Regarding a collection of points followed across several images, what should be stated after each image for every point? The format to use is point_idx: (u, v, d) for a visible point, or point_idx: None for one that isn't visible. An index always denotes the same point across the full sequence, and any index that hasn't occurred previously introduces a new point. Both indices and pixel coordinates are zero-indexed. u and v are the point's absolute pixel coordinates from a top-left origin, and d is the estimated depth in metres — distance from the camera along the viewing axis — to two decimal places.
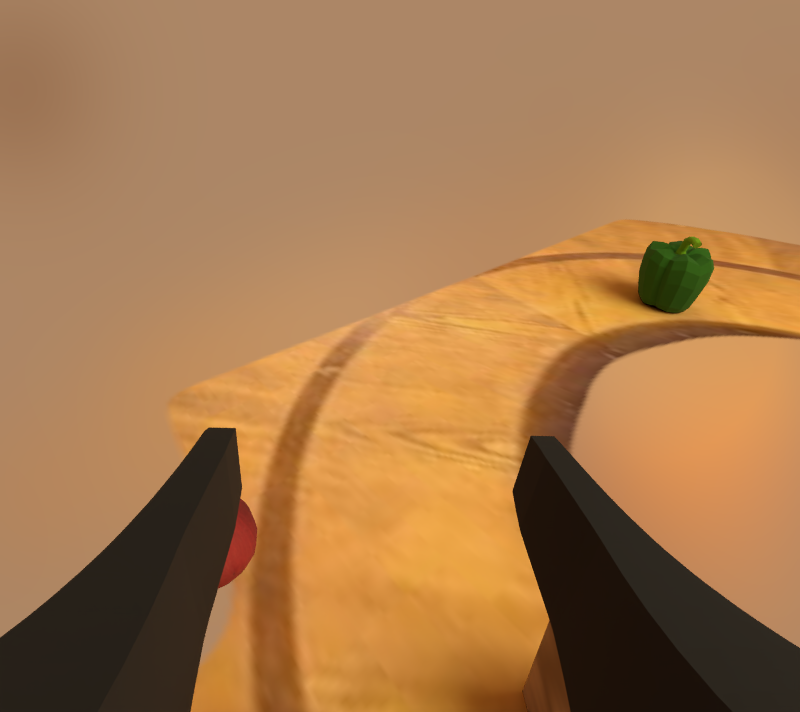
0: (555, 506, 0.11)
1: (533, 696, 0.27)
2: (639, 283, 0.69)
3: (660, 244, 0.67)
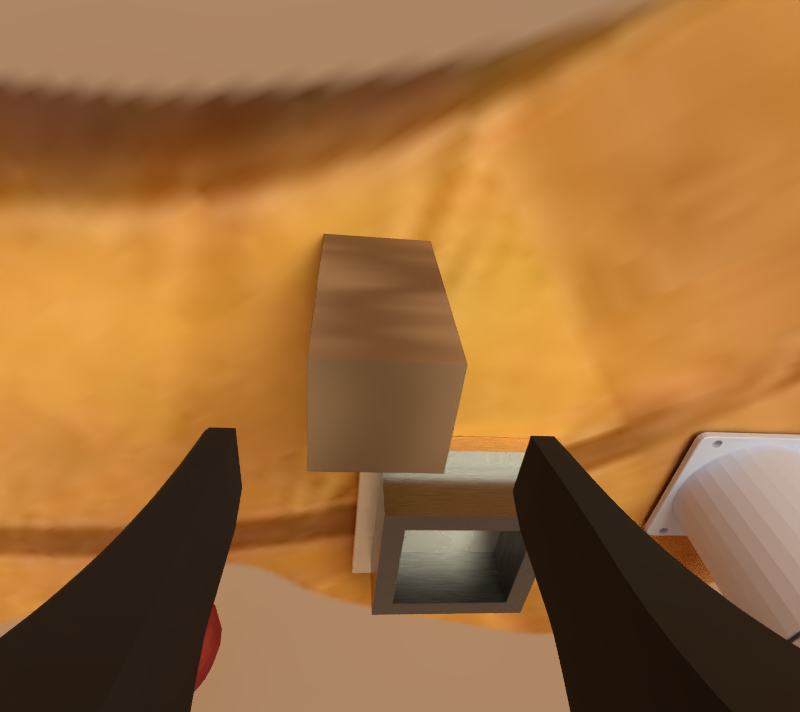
0: (555, 506, 0.11)
1: None
2: None
3: None
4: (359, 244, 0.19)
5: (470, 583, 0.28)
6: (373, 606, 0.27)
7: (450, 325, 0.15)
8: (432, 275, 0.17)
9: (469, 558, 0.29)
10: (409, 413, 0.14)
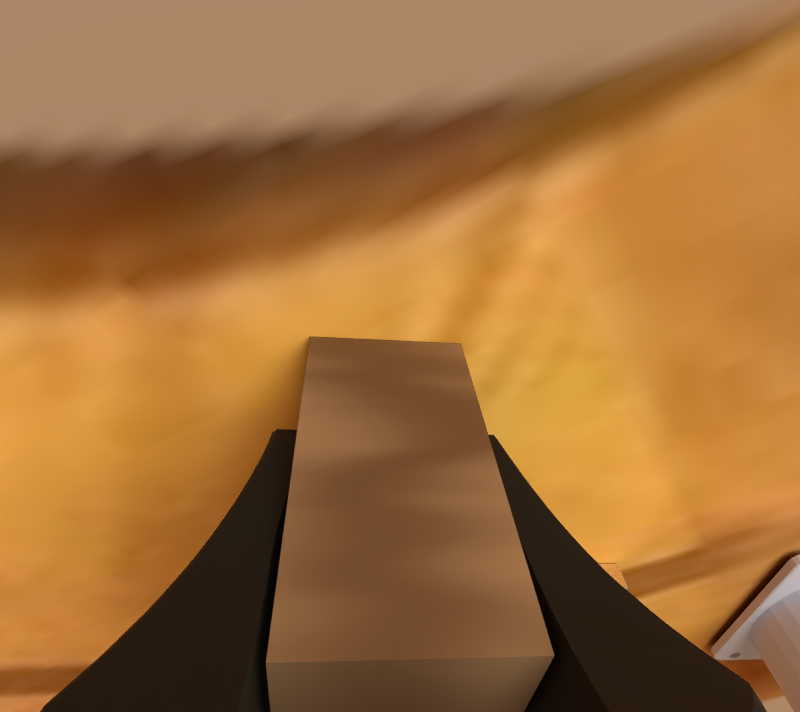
0: None
1: None
2: None
3: None
4: (360, 357, 0.13)
5: None
6: None
7: (511, 541, 0.09)
8: (469, 417, 0.11)
9: None
10: (446, 710, 0.08)
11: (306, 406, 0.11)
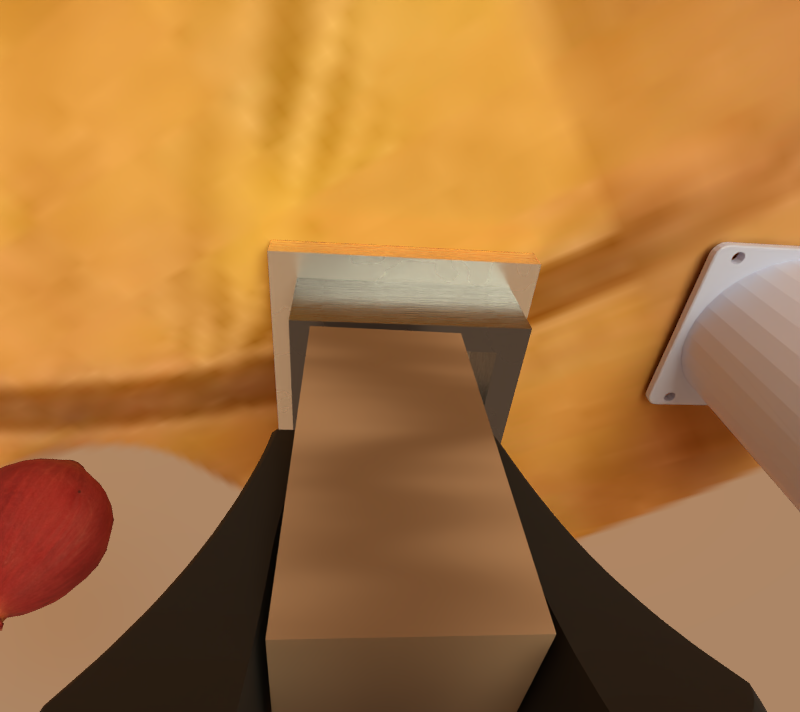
0: None
1: None
2: None
3: None
4: (360, 345, 0.13)
5: None
6: None
7: (512, 523, 0.09)
8: (470, 403, 0.11)
9: None
10: (447, 691, 0.08)
11: (306, 392, 0.11)
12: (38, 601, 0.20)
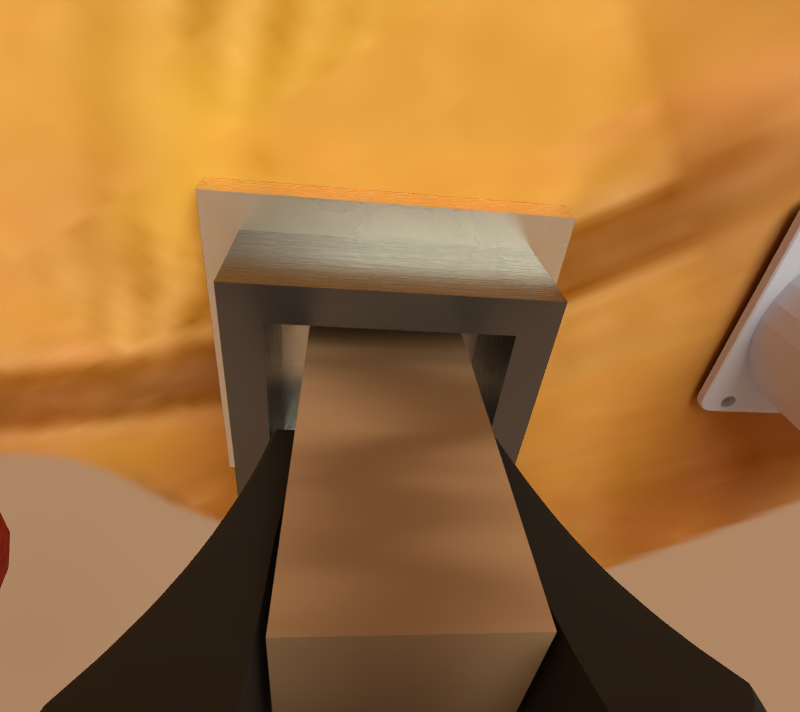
0: None
1: None
2: None
3: None
4: (360, 344, 0.13)
5: None
6: None
7: (512, 521, 0.09)
8: (470, 402, 0.11)
9: None
10: (447, 690, 0.08)
11: (306, 391, 0.11)
12: None
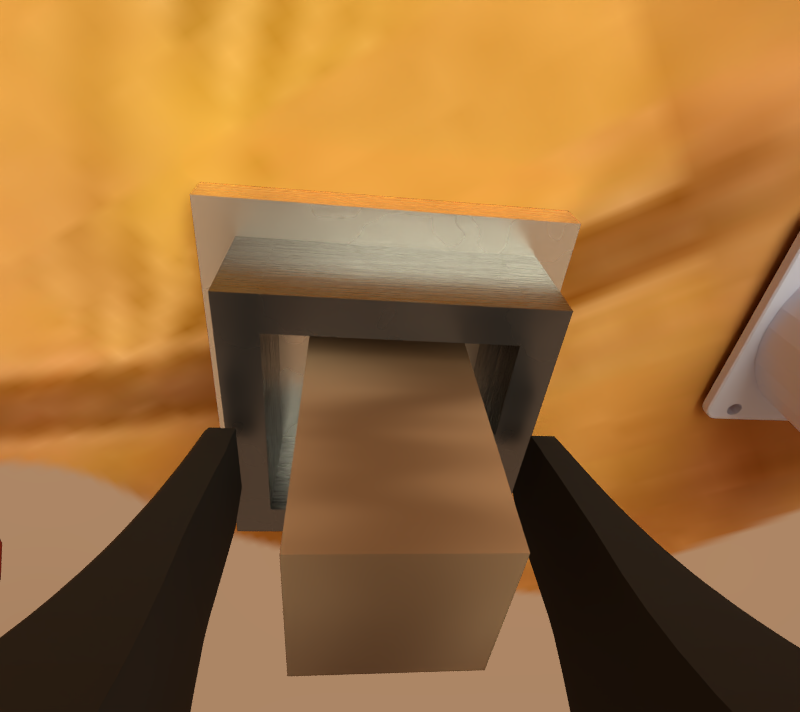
0: (555, 505, 0.11)
1: None
2: None
3: None
4: None
5: None
6: None
7: (495, 467, 0.10)
8: (460, 368, 0.12)
9: None
10: (437, 610, 0.09)
11: (311, 359, 0.12)
12: None
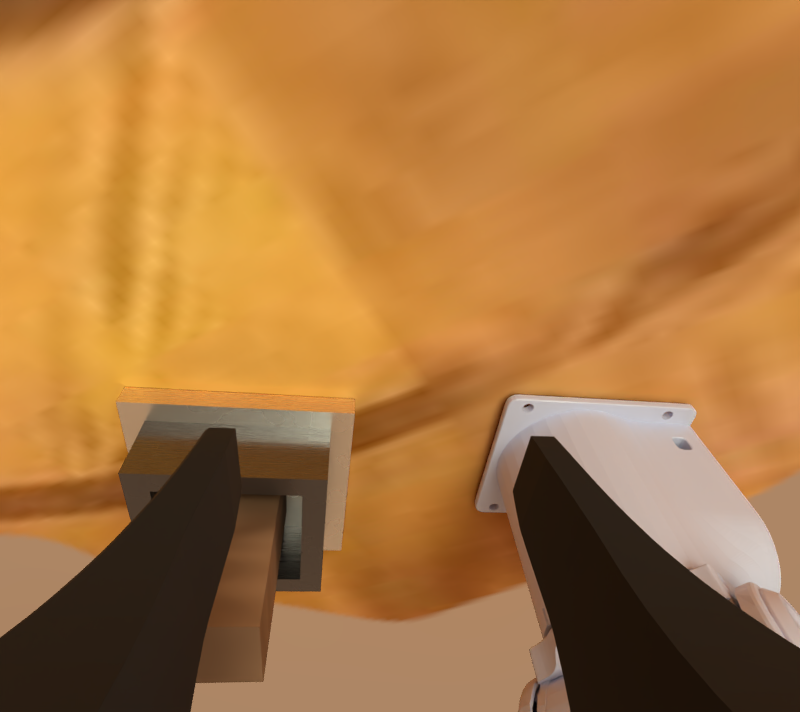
0: (555, 505, 0.11)
1: None
2: None
3: None
4: None
5: None
6: None
7: (263, 576, 0.19)
8: (270, 506, 0.22)
9: None
10: (223, 651, 0.18)
11: None
12: None
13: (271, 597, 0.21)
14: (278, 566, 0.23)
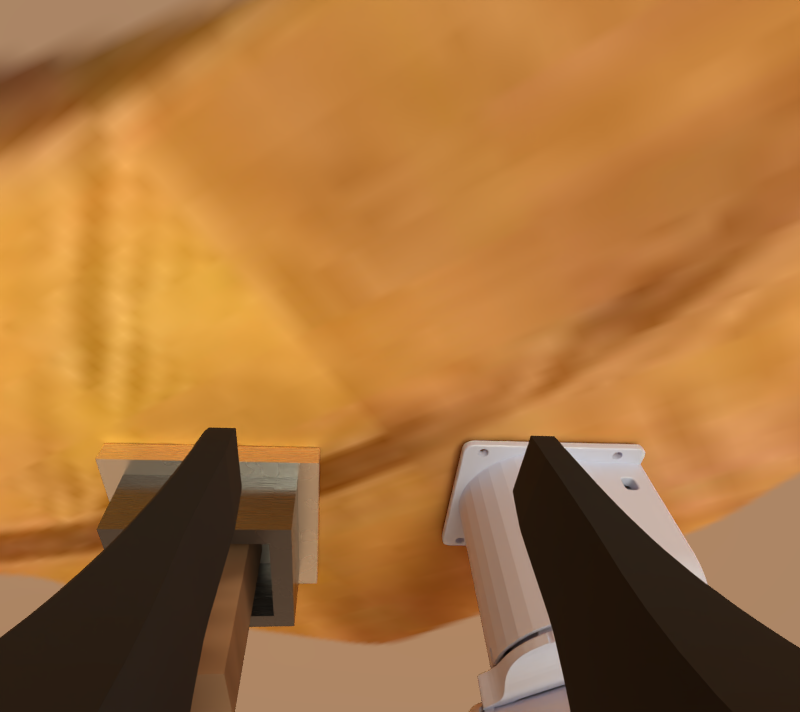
0: (555, 505, 0.11)
1: None
2: None
3: None
4: None
5: None
6: None
7: (229, 623, 0.21)
8: (240, 553, 0.23)
9: None
10: (193, 695, 0.20)
11: None
12: None
13: (242, 638, 0.23)
14: (251, 605, 0.25)
